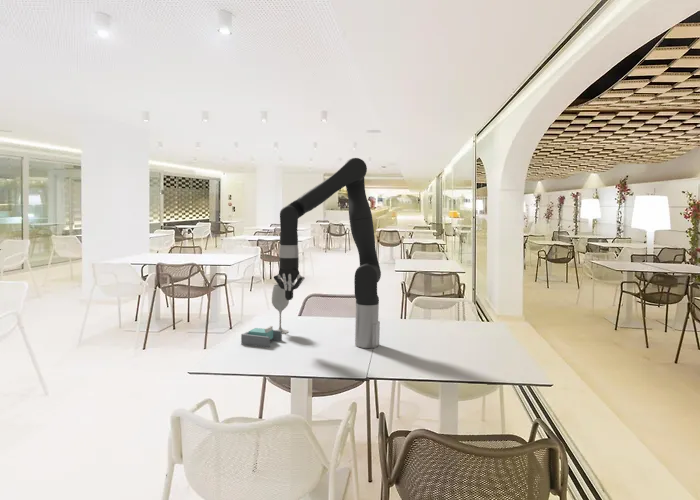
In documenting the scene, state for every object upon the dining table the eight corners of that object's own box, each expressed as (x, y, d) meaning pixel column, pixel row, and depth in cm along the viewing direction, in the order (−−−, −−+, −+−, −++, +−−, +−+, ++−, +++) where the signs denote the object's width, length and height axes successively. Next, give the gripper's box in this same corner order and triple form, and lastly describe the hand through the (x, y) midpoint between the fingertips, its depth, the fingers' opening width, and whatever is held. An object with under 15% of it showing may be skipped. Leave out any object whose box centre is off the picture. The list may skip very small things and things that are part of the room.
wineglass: (290, 330, 219) (290, 284, 217) (286, 334, 211) (286, 286, 209) (274, 329, 219) (274, 283, 218) (269, 333, 212) (269, 286, 210)
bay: (281, 340, 202) (281, 330, 201) (268, 347, 191) (268, 337, 190) (255, 337, 206) (256, 328, 205) (241, 344, 195) (241, 334, 194)
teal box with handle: (273, 341, 200) (273, 326, 199) (266, 345, 194) (266, 329, 194) (255, 339, 202) (255, 324, 202) (248, 343, 197) (248, 327, 196)
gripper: (308, 256, 193) (308, 299, 194) (278, 255, 197) (278, 297, 198) (300, 257, 186) (300, 302, 187) (269, 256, 190) (269, 300, 191)
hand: (289, 299), depth 193 cm, fingers closed
